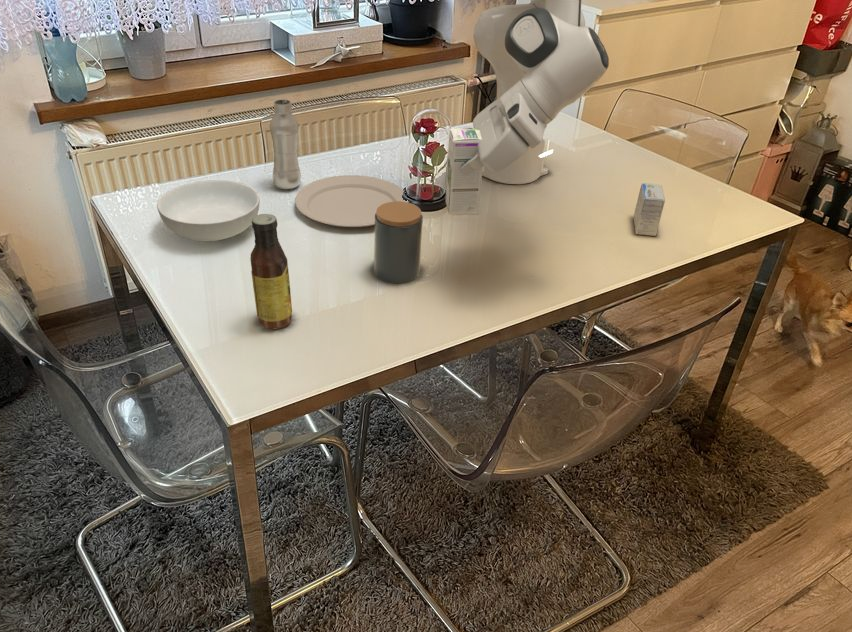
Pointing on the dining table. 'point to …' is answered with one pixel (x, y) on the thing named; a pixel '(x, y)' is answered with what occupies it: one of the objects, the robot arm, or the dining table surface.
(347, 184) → the plate
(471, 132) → the syrup box
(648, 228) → the medicine box
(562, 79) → the robot arm
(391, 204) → the canister
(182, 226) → the serving bowl
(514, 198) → the dining table surface
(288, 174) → the plastic bottle
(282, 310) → the sauce bottle
